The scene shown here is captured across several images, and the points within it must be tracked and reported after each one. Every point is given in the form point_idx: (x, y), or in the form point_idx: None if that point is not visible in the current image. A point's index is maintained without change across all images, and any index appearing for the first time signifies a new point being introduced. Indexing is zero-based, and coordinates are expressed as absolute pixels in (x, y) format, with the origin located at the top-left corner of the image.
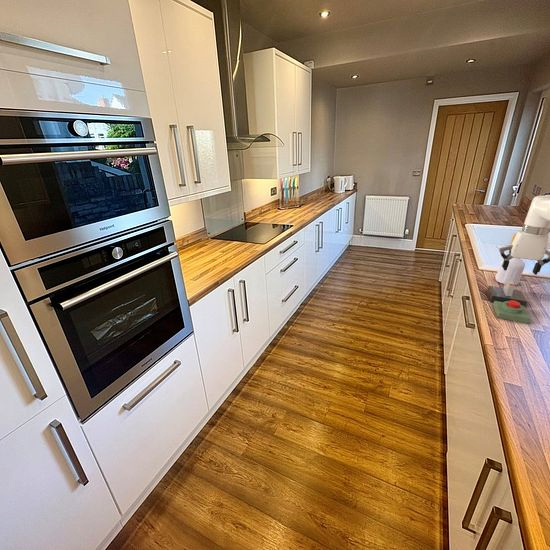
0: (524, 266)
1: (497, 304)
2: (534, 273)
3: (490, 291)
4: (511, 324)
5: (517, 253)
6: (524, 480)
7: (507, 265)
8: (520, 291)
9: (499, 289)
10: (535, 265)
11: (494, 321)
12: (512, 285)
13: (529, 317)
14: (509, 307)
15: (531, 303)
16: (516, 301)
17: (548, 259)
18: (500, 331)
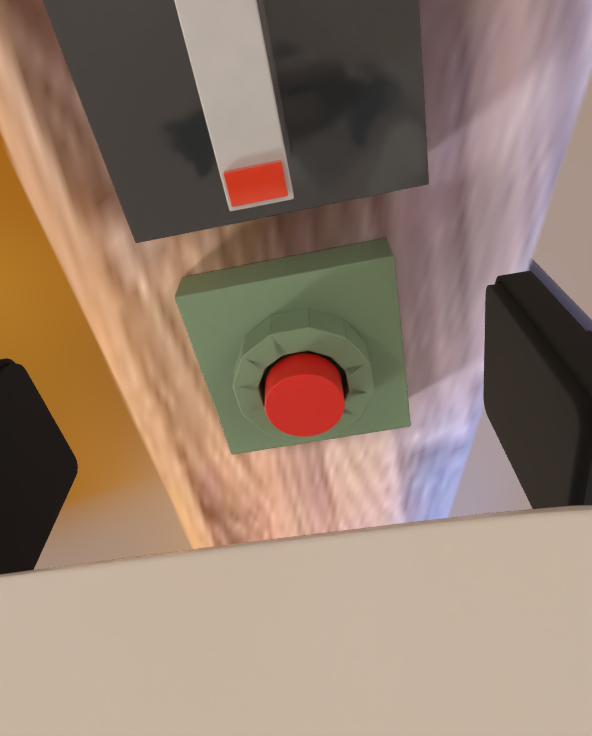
0: None
1: (205, 348)
2: (488, 405)
3: (94, 130)
4: (310, 456)
5: None
6: None
7: (31, 556)
8: None
9: (160, 8)
10: (549, 409)
11: (226, 473)
12: (260, 198)
13: (403, 415)
14: (279, 431)
15: (493, 4)
16: (318, 381)
17: None
18: (263, 536)
